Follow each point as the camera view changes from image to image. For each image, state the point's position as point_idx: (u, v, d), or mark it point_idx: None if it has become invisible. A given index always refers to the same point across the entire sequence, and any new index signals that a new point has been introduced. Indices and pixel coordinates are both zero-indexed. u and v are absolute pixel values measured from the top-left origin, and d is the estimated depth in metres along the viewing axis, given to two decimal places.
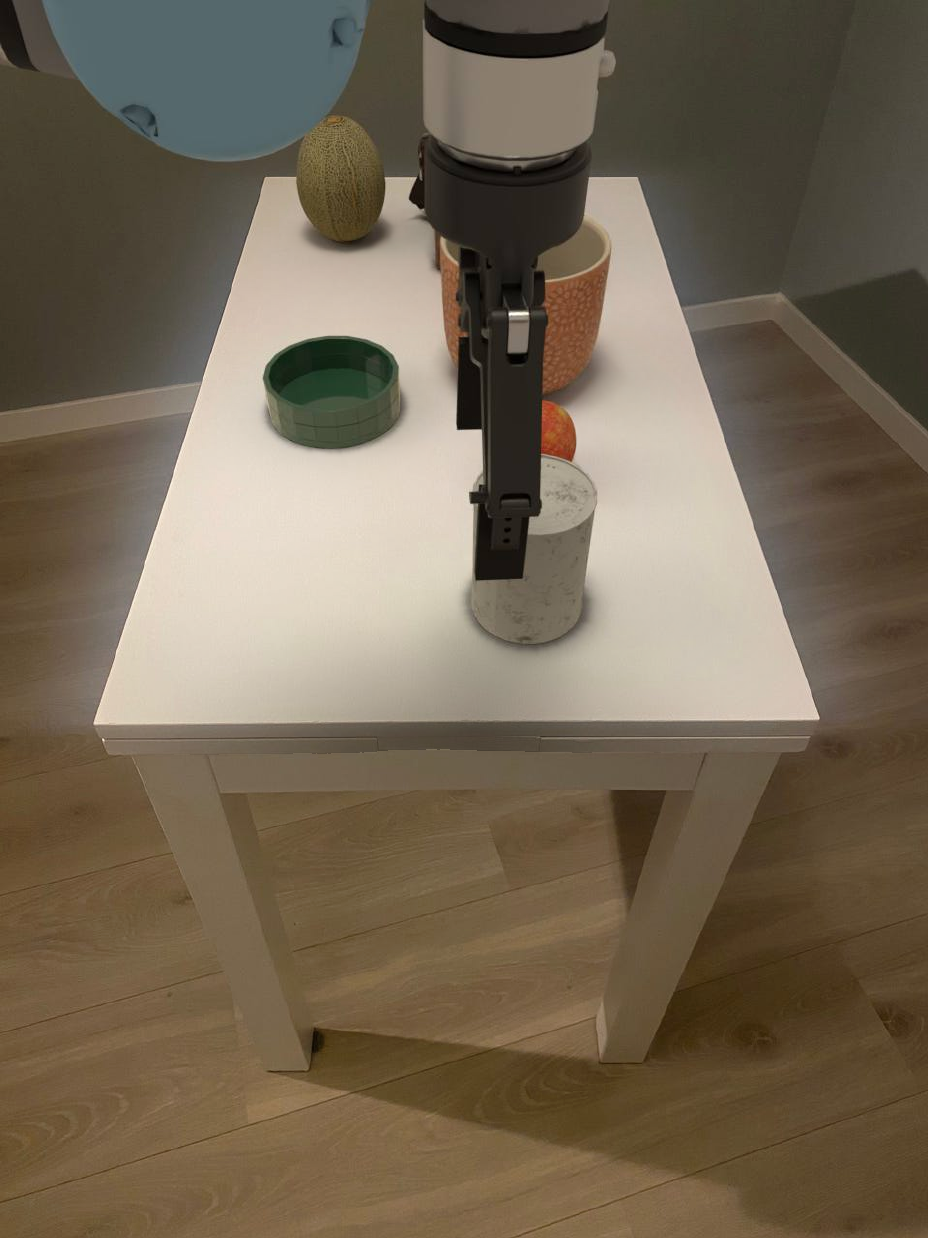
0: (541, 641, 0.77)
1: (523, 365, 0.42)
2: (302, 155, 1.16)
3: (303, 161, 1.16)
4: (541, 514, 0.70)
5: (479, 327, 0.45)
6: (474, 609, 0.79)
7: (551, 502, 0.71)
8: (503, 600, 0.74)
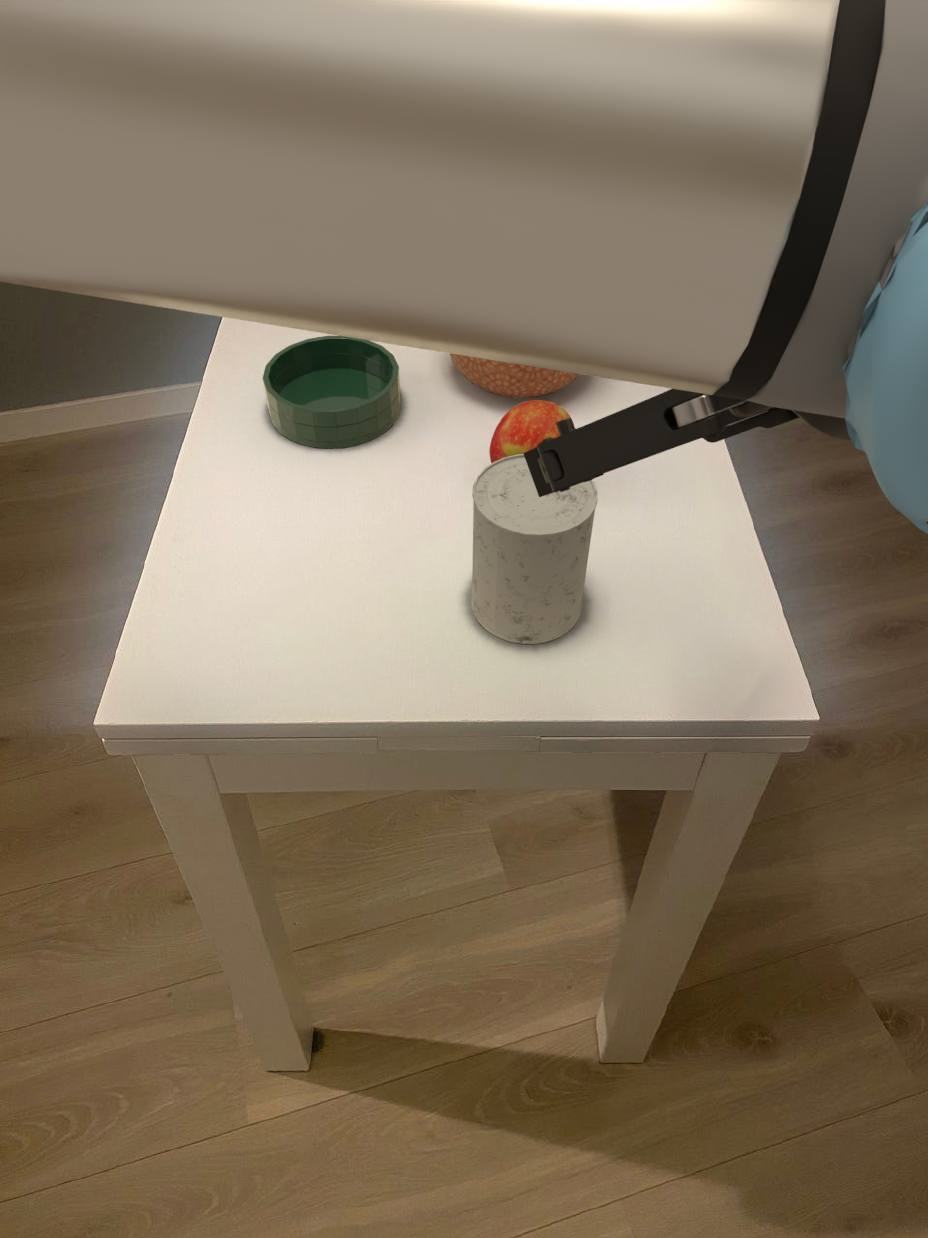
0: (541, 641, 0.77)
1: (666, 428, 0.41)
2: None
3: None
4: (541, 514, 0.70)
5: None
6: (474, 609, 0.79)
7: (551, 502, 0.71)
8: (503, 600, 0.74)
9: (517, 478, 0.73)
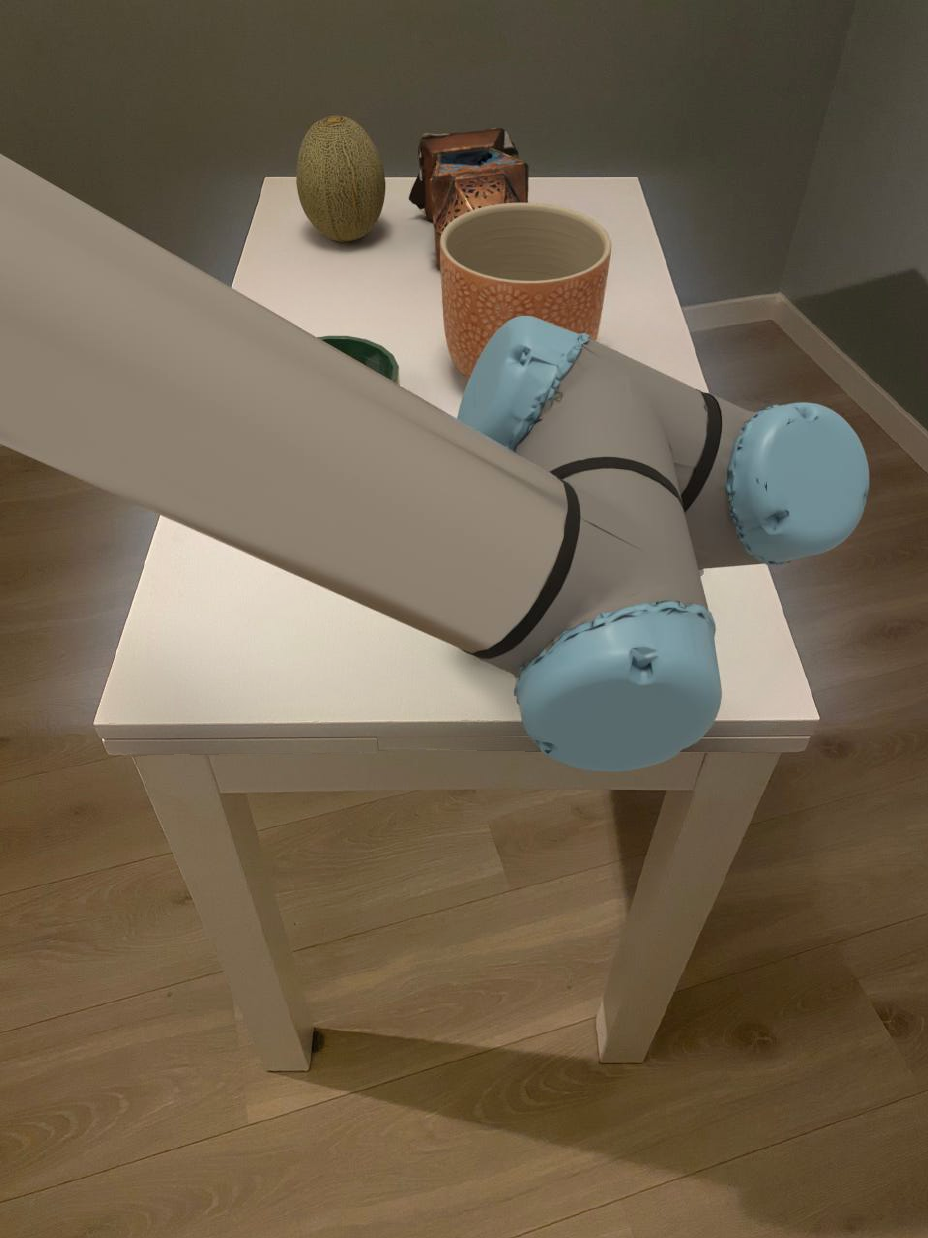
0: None
1: None
2: (302, 155, 1.16)
3: (303, 161, 1.16)
4: None
5: None
6: None
7: None
8: None
9: None
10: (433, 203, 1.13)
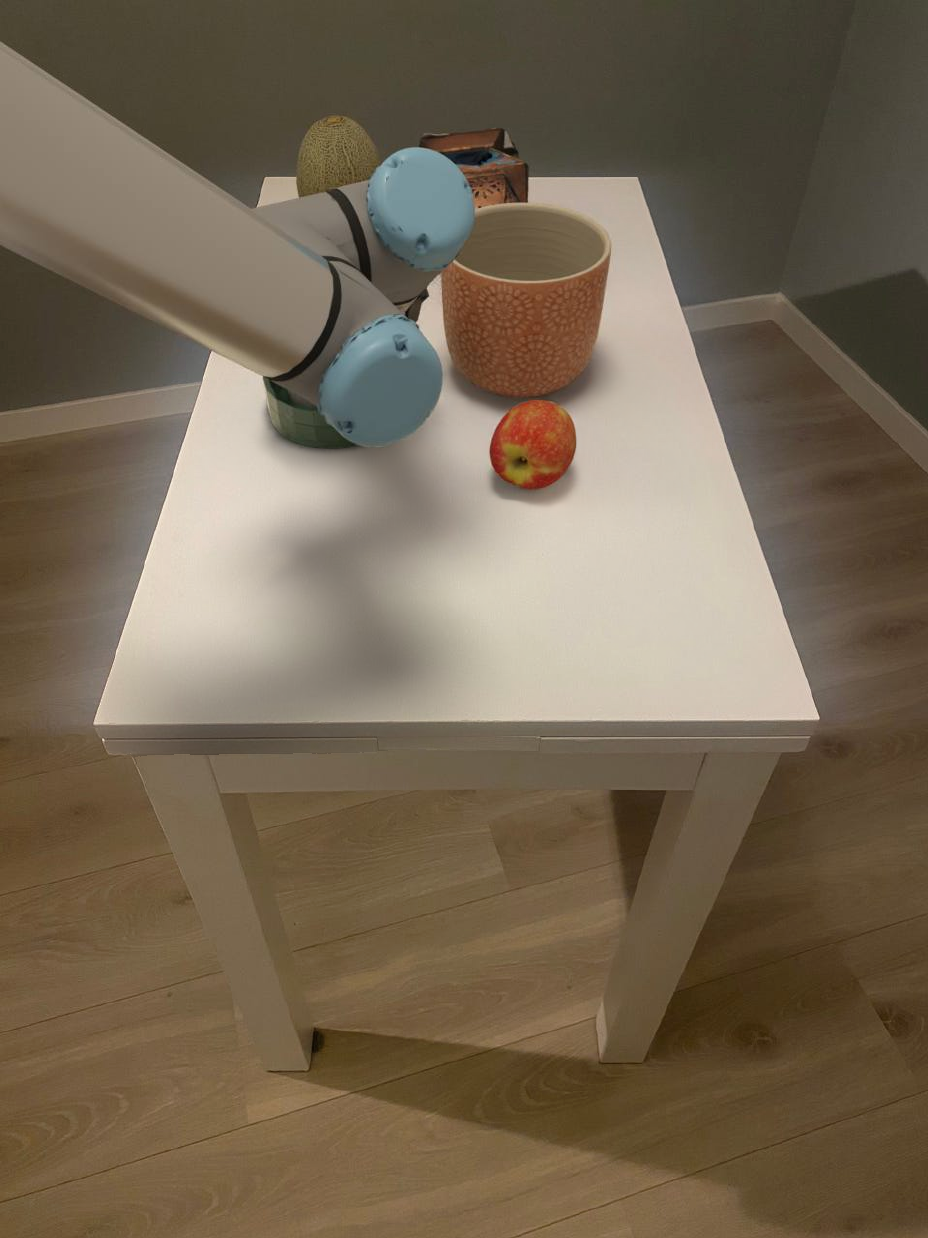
0: None
1: None
2: (302, 155, 1.16)
3: (303, 161, 1.16)
4: None
5: None
6: None
7: None
8: None
9: None
10: None
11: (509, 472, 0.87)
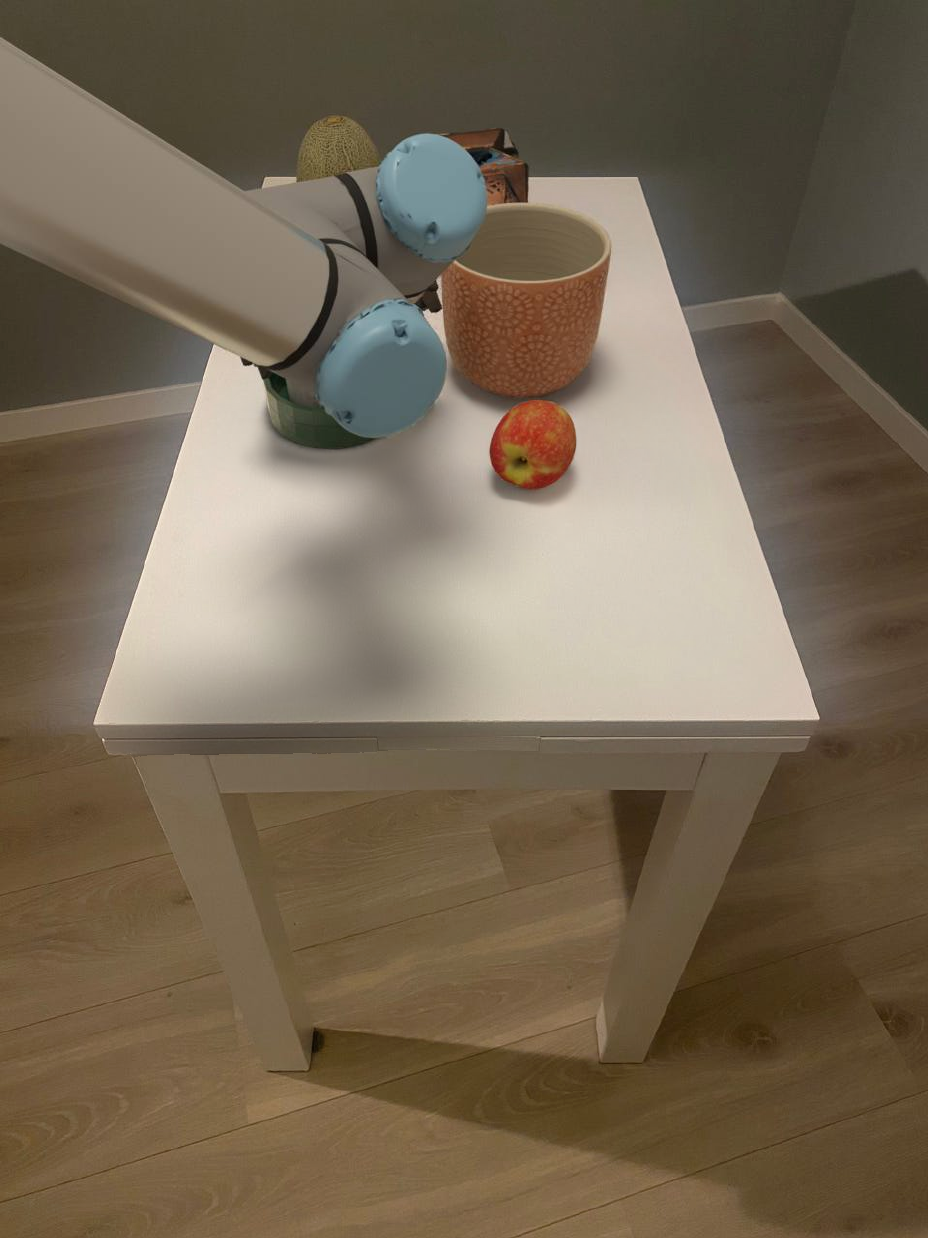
0: None
1: None
2: (302, 155, 1.16)
3: (303, 161, 1.16)
4: None
5: None
6: None
7: None
8: None
9: None
10: None
11: (509, 472, 0.87)
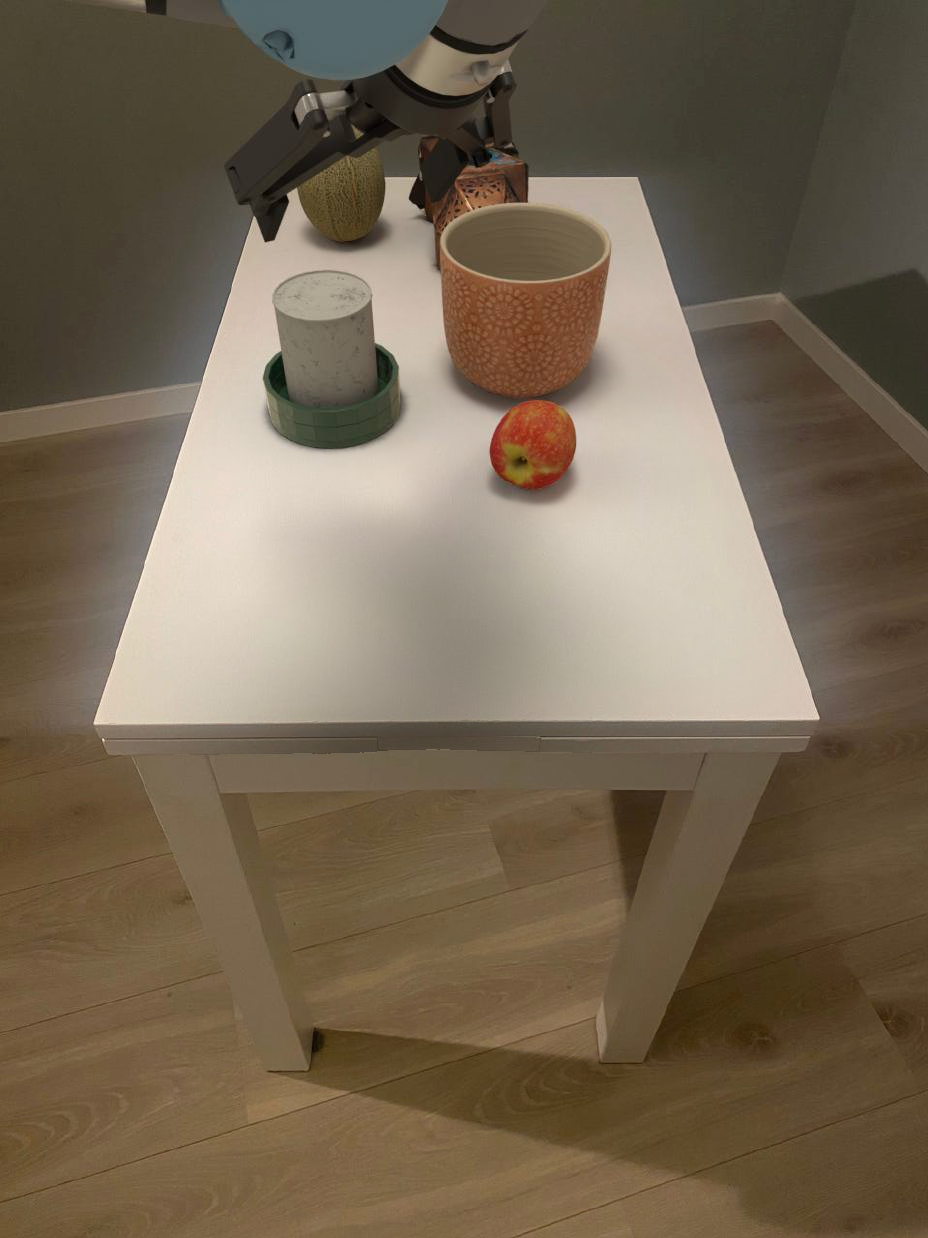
0: None
1: (294, 129, 0.54)
2: None
3: None
4: (324, 308, 0.88)
5: None
6: None
7: (334, 300, 0.89)
8: (303, 386, 0.92)
9: (311, 285, 0.91)
10: (433, 203, 1.13)
11: (509, 472, 0.87)
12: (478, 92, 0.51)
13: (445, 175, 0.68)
